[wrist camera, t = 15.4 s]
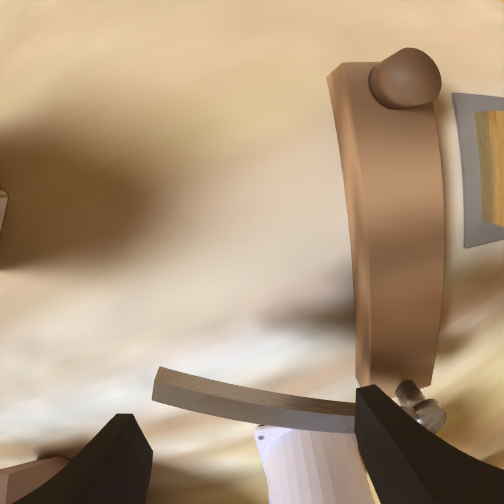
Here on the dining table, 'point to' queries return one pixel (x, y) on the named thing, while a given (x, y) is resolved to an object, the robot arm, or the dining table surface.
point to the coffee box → (2, 206)
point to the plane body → (392, 213)
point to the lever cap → (491, 164)
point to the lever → (281, 404)
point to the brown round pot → (28, 477)
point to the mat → (474, 167)
